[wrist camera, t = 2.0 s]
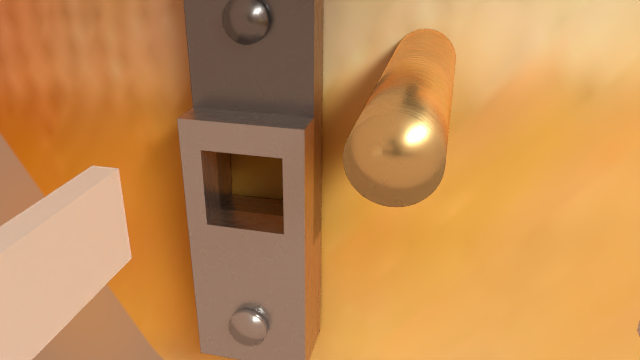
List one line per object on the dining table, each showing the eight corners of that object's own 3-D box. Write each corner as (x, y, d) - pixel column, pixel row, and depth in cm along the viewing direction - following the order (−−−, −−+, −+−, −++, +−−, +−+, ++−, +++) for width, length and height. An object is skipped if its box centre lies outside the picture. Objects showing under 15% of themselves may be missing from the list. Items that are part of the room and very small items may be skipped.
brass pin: (396, 27, 30) (344, 108, 18) (458, 30, 29) (450, 117, 17) (392, 87, 31) (341, 201, 19) (452, 91, 31) (439, 212, 18)
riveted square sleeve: (196, -48, 31) (154, -42, 27) (323, -45, 29) (300, -38, 25) (224, 314, 41) (197, 359, 37) (320, 330, 40) (302, 378, 36)
